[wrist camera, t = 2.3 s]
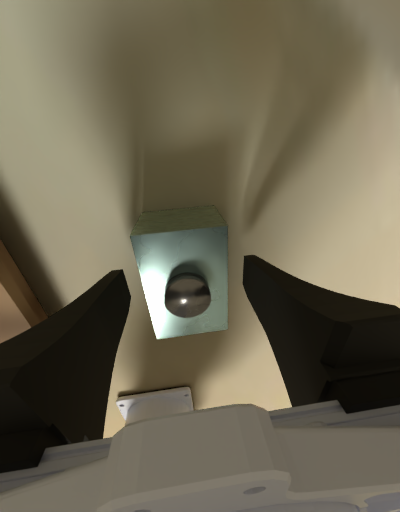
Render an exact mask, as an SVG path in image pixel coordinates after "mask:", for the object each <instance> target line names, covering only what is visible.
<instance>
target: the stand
mask: <svg viewBox="0 0 400 512" xmlns="http://www.w3.org/2000/svg"><path fill="white" fill-rule="evenodd" d="M47 318H48V317H47V315H46V313H45V312H44V310H43V308H42V307H41V305H40V304H39V302H38V300H37V299H36V297H35V295H34V294H33V292H32V290H31V289H30V287H29V285H28V284H27V282H26V280H25V279H24V277H23V276H22V274H21V272H20V271H19V269H18V267H17V266H16V264H15V262H14V261H13V259H12V257H11V256H10V254H9V253H8V251H7V249H6V248H5V246H4V244H3V243H2V241H1V239H0V343H2V342H4V341H6V340H9V339H11V338H13V337H14V336H16V335H18V334H20V333H22V332H24V331H26V330H28V329H30V328H31V327H33V326H35V325H37V324H38V323H40V322H42V321H44V320H46V319H47Z"/></svg>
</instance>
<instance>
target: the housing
mask: <svg viewBox="0 0 400 512" xmlns="http://www.w3.org/2000/svg"><path fill="white" fill-rule="evenodd" d="M130 238H131V242H132V246H133V250H134V254H135V257H136V261H137V265H138V269H139V273H140V277H141V280H142V284H143V288H144V292H145V296H146V299H147V303H148V307H149V311H150V315H151V319H152V322H153V326H154V330H155V334H156V338H157V339H163V338H170V337H178V336H185V335H192V334H199V333H206V332H213V331H221V330H228V226H227V224H226V223H225V221H224V220H223V218H222V217H221V215H220V214H219V212H218V211H217V210H216V208H215V207H214V205H212V206H202V207H192V208H182V209H172V210H161V211H151V212H142V214H141V216H140V218H139V220H138V222H137V223H136V225H135V227H134V229H133V231H132V233H131V235H130Z"/></svg>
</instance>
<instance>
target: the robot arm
mask: <svg viewBox="0 0 400 512" xmlns="http://www.w3.org/2000/svg"><path fill="white" fill-rule="evenodd" d="M243 286H244V289H245V292H246V295H247V297H248V299H249V301H250V303H251V305H252V307H253V309H254V311H255V313H256V315H257V317H258V319H259V320H260V322H261V324H262V326H263V328H264V330H265V332H266V335H267V337H268V340H269V342H270V345H271V347H272V350H273V352H274V355H275V358H276V361H277V363H278V366H279V369H280V372H281V374H282V377H283V380H284V383H285V386H286V389H287V392H288V395H289V398H290V401H291V405H292V407H291V408H285V409H279V410H273V411H267V410H265V409H263V408H261V407H258V406H256V405H253V404H232V405H226V406H220V407H214V408H208V409H202V410H195V411H194V408H193V402H192V396H191V389H190V388H189V387H181V388H175V389H168V390H162V391H155V392H149V393H142V394H136V395H130V396H123V397H119V398H117V400H116V404H117V406H118V408H119V410H120V412H121V414H122V416H123V417H124V419H125V421H126V422H125V427H123V428H122V429H121V430H120V431H118V432H117V433H116V434H115V435H114V436H113V437H110V438H104V439H103V433H104V425H105V417H106V410H107V403H108V396H109V390H110V384H111V378H112V372H113V367H114V362H115V357H116V353H117V349H118V345H119V342H120V339H121V336H122V332H123V329H124V326H125V323H126V319H127V316H128V313H129V307H130V300H131V295H130V292H129V288H128V285H127V282H126V279H125V275H124V272H123V269H122V270H113V271H111V272H109V273H108V274H107V275H105V276H104V277H103V278H102V279H101V280H99V281H98V282H97V283H96V284H94V285H93V286H92V287H91V288H90V289H88V290H87V291H86V292H85V293H83V294H82V295H81V296H79V297H78V298H77V299H75V300H74V301H73V302H71V303H70V304H69V305H67V306H66V307H64V308H63V309H61V310H60V311H58V312H57V313H55V314H54V315H52V316H51V317H49V318H47V319H46V320H44V321H42V322H40V323H38V324H37V325H35V326H33V327H31V328H30V329H28V330H26V331H24V332H22V333H20V334H18V335H16V336H14V337H13V338H11V339H9V340H6V341H4V342H2V343H0V512H400V308H398V307H397V306H395V305H389V304H384V303H379V302H374V301H369V300H364V299H360V298H356V297H352V296H348V295H344V294H340V293H337V292H334V291H330V290H327V289H324V288H321V287H318V286H316V285H313V284H311V283H308V282H306V281H303V280H301V279H298V278H296V277H294V276H292V275H290V274H288V273H286V272H284V271H282V270H280V269H279V268H277V267H275V266H273V265H271V264H270V263H268V262H266V261H264V260H263V259H261V258H259V257H257V256H255V255H249V256H244V267H243Z"/></svg>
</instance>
